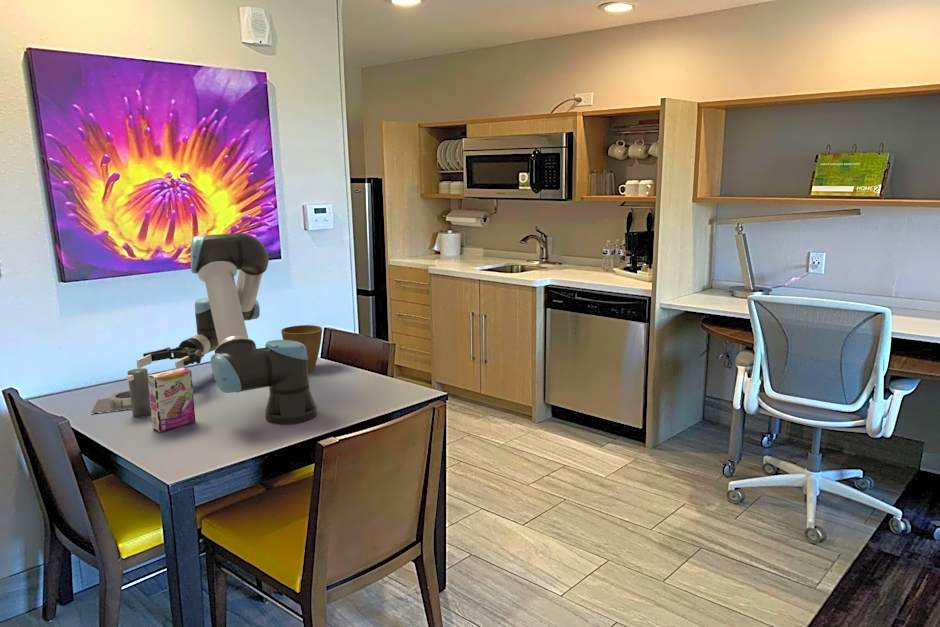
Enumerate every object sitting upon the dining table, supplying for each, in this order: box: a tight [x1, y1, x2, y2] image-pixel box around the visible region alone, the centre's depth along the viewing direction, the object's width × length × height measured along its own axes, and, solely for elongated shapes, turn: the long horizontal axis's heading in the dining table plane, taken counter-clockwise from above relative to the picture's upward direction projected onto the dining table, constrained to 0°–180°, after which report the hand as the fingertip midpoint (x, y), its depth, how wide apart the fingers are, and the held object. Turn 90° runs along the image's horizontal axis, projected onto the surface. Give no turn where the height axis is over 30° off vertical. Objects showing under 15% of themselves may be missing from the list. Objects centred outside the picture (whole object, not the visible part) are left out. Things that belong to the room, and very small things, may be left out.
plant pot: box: [280, 324, 323, 373], centre depth 255 cm, size 15×15×16 cm
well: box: [90, 389, 132, 414], centre depth 221 cm, size 14×20×3 cm
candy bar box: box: [148, 367, 196, 433], centre depth 199 cm, size 11×5×16 cm, turn 141°
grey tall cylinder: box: [126, 367, 151, 418], centre depth 209 cm, size 7×6×14 cm
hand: (157, 365), depth 218 cm, fingers open, 13 cm apart
